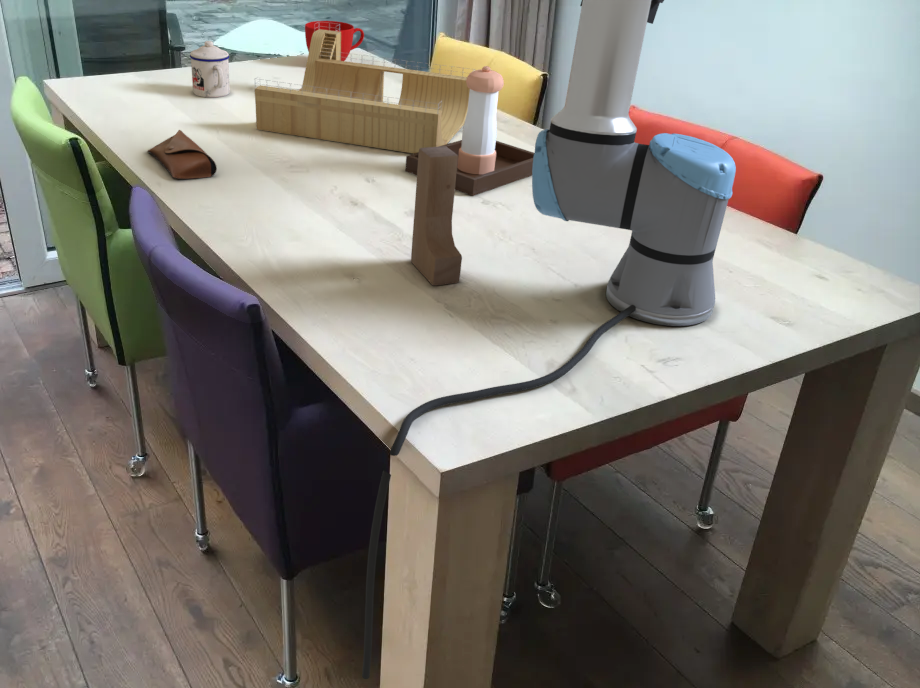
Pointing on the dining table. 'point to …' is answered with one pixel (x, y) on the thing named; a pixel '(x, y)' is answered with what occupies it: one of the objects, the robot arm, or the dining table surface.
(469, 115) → the pepper shaker
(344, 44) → the ceramic cup
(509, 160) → the tray
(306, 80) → the skate ramp
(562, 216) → the robot arm
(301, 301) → the dining table surface
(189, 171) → the sunglasses case
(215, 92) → the teacup with lid
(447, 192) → the wooden block
